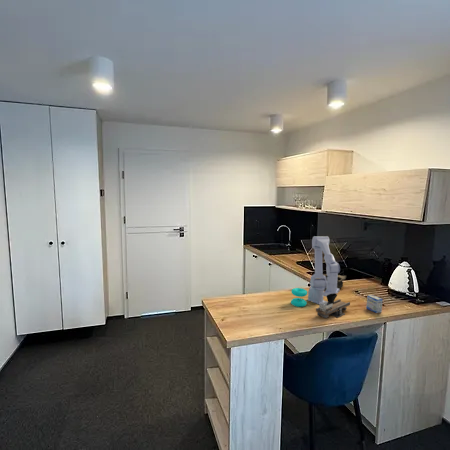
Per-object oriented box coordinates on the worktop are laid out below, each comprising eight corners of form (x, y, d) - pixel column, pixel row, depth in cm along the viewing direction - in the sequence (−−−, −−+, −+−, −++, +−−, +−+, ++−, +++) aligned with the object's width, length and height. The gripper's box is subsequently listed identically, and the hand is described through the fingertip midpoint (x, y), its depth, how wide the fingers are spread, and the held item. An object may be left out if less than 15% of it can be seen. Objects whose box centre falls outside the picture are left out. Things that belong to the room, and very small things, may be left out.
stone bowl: (347, 292, 224) (347, 280, 223) (312, 290, 232) (312, 278, 231) (346, 282, 247) (346, 271, 246) (314, 281, 255) (313, 270, 254)
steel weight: (318, 310, 179) (319, 303, 179) (325, 307, 184) (326, 301, 183) (325, 312, 176) (326, 305, 175) (332, 309, 180) (332, 303, 180)
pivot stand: (321, 311, 187) (321, 305, 186) (335, 305, 197) (336, 299, 196) (337, 317, 178) (338, 311, 178) (351, 311, 188) (352, 305, 188)
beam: (315, 314, 179) (315, 308, 179) (339, 304, 196) (339, 299, 195) (326, 318, 174) (326, 312, 174) (349, 308, 190) (350, 302, 190)
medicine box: (366, 308, 194) (367, 295, 193) (371, 307, 195) (372, 294, 194) (376, 313, 186) (377, 299, 185) (381, 312, 188) (382, 298, 187)
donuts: (289, 290, 195) (294, 286, 203) (288, 305, 196) (294, 300, 204) (304, 293, 189) (309, 289, 198) (303, 308, 190) (308, 304, 199)
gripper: (331, 287, 173) (329, 310, 175) (344, 282, 182) (343, 304, 184) (320, 284, 178) (319, 306, 180) (334, 280, 188) (332, 301, 189)
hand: (330, 305), depth 182 cm, fingers closed
